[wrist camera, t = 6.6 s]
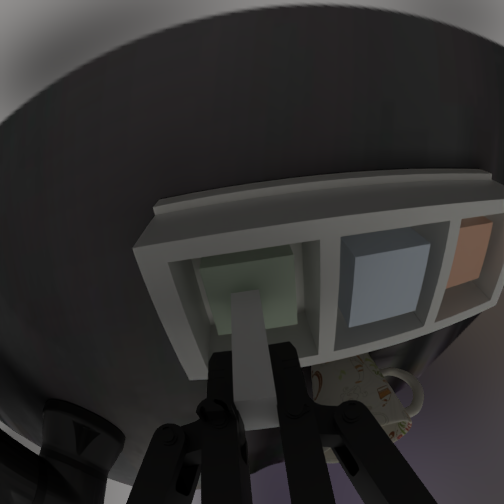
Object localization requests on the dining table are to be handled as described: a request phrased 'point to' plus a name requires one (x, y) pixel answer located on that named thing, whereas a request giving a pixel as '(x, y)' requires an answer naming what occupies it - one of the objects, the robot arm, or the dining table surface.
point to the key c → (470, 250)
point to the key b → (381, 274)
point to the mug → (366, 393)
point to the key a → (252, 284)
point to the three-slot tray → (319, 254)
